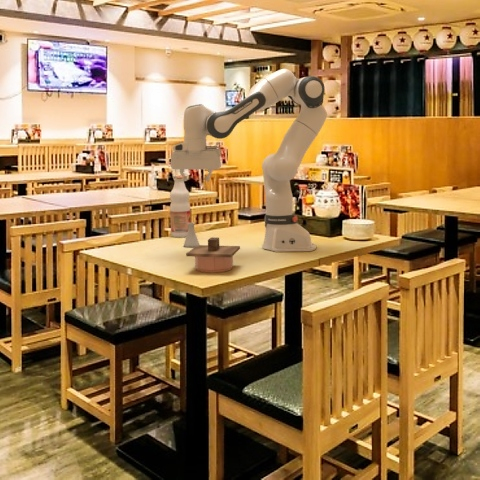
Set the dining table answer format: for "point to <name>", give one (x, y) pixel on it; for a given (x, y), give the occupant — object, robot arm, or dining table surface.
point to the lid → (213, 249)
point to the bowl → (213, 264)
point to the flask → (191, 236)
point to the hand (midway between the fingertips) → (196, 180)
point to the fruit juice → (179, 208)
